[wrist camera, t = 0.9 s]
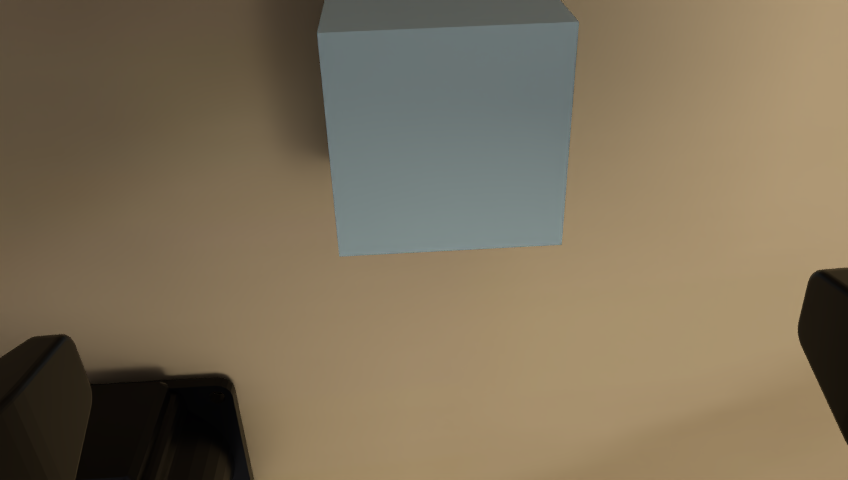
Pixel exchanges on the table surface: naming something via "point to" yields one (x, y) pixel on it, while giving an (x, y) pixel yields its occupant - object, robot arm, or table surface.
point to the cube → (447, 122)
